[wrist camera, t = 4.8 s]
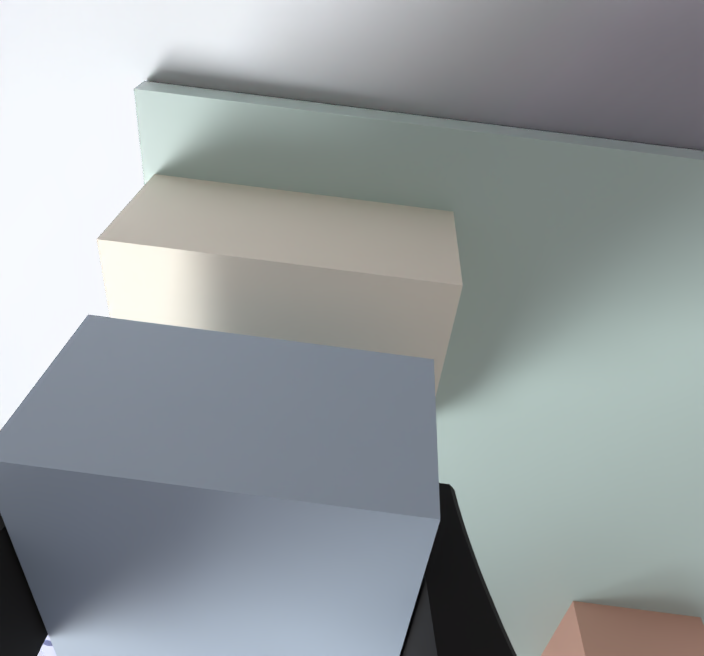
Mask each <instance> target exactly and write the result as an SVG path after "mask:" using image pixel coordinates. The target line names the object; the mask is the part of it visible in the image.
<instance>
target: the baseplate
mask: <svg viewBox="0 0 704 656" xmlns="http://www.w3.org/2000/svg"><path fill="white" fill-rule="evenodd" d="M134 95H135V104H136V113H137V122H138V131H139V140H140V149H141V158H142V167H143V177H144V185H145V184H146V183H147V182H148V181H149V180H150V178H151V177H152V176H153V175H154V174H159V175H167V176H175V177H183V178H191V179H199V180H207V181H215V182H223V183H230V184H238V185H246V186H254V187H262V188H270V189H278V190H286V191H294V192H302V193H310V194H318V195H326V196H334V197H342V198H350V199H358V200H366V201H374V202H382V203H389V204H397V205H405V206H413V207H421V208H429V209H437V210H445V211H453V212H454V220H455V228H456V236H457V244H458V251H459V259H460V267H461V275H462V282H463V287H462V291H461V295H460V299H459V303H458V307H457V311H456V316H455V320H454V324H453V328H452V332H451V336H450V340H449V344H448V348H447V352H446V356H445V360H444V364H443V369H442V373H441V377H440V381H439V385H438V389H437V393H436V397H435V400H436V425H437V450H438V474H439V483H444V484H450V485H451V486H452V487H453V489H454V490H455V494H456V498H457V501H458V505H459V508H460V512H461V515H462V518H463V521H464V525H465V528H466V531H467V534H468V537H469V540H470V543H471V545H472V548H473V551H474V554H475V556H476V559H477V562H478V565H479V567H480V570H481V573H482V575H483V578H484V580H485V583H486V585H487V588H488V590H489V593H490V595H491V597H492V600H493V602H494V605H495V607H496V609H497V612H498V614H499V617H500V619H501V621H502V624H503V626H504V628H505V631H506V633H507V635H508V637H509V639H510V642H511V644H512V646H513V648H514V651H515V653H516V655H517V656H541V655H542V653H543V651H544V650H545V648H546V646H547V644H548V643H549V641H550V639H551V638H552V636H553V634H554V632H555V631H556V629H557V627H558V626H559V624H560V622H561V620H562V619H563V617H564V615H565V614H566V612H567V610H568V608H569V607H570V605H571V603H572V602H573V601H578V602H585V603H593V604H601V605H609V606H616V607H624V608H632V609H640V610H647V611H655V612H663V613H671V614H679V615H686V616H694V617H701V620H702V622H703V625H704V151H700V150H692V149H684V148H676V147H668V146H660V145H652V144H644V143H636V142H628V141H620V140H612V139H604V138H596V137H588V136H580V135H572V134H564V133H556V132H548V131H540V130H532V129H524V128H516V127H508V126H500V125H492V124H484V123H476V122H468V121H460V120H452V119H444V118H436V117H428V116H420V115H412V114H404V113H396V112H388V111H380V110H372V109H364V108H356V107H348V106H340V105H332V104H324V103H316V102H308V101H300V100H292V99H284V98H276V97H268V96H260V95H252V94H244V93H236V92H228V91H220V90H212V89H204V88H196V87H188V86H180V85H172V84H164V83H156V82H148V81H144V82H143V83H141V84H140V85H138V86H137V87H136V88H134Z"/></svg>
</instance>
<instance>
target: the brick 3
mask: <svg viewBox="0 0 704 656" xmlns="http://www.w3.org/2000/svg"><path fill="white" fill-rule="evenodd" d="M541 656H704V625H703V622H702V620H701V617H694V616H686V615H679V614H671V613H663V612H655V611H647V610H640V609H632V608H624V607H616V606H609V605H601V604H593V603H585V602H578V601H573V602H572V603H571V605H570V607H569V608H568V610H567V612H566V614H565V615H564V617H563V619H562V620H561V622H560V624H559V626H558V627H557V629H556V631H555V632H554V634H553V636H552V638H551V639H550V641H549V643H548V644H547V646H546V648H545V650H544V651H543V653H542V655H541Z"/></svg>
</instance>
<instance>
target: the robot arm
mask: <svg viewBox="0 0 704 656" xmlns="http://www.w3.org/2000/svg"><path fill="white" fill-rule="evenodd" d="M439 499H440V522H439V526H438V529H437V532H436V536H435V539H434V542H433V546H432V549H431V552H430V556H429V559H428V562H427V566H426V569H425V572H424V576H423V579H422V582H421V586H420V589H419V592H418V596H417V599H416V602H415V606H414V609H413V612H412V616H411V619H410V622H409V626H408V629H407V632H406V636H405V639H404V642H403V646H402V649H401V652H400V656H517V655H516V653H515V651H514V648H513V646H512V644H511V642H510V639H509V637H508V635H507V633H506V631H505V628H504V626H503V624H502V621H501V619H500V617H499V614H498V612H497V609H496V607H495V605H494V602H493V600H492V597H491V595H490V593H489V590H488V588H487V585H486V583H485V580H484V578H483V575H482V573H481V570H480V567H479V565H478V562H477V559H476V556H475V554H474V551H473V548H472V545H471V543H470V540H469V537H468V534H467V531H466V528H465V525H464V521H463V518H462V515H461V512H460V508H459V505H458V501H457V498H456V494H455V490H454V489H453V487H452V486H451V485H450V484H444V483H439ZM40 649H41V651H42V654H43V656H56V653H55V650H54V648H53V645H52V643H51V640H50V638H49V635H48V633H47V630H46V628H45V625H44V623H43V620H42V617H41V615H40V612H39V610H38V607H37V605H36V602H35V600H34V597H33V595H32V592H31V589H30V587H29V584H28V582H27V579H26V577H25V574H24V572H23V569H22V567H21V564H20V562H19V559H18V556H17V554H16V551H15V549H14V546H13V544H12V541H11V539H10V536H9V534H8V531H7V528H6V526H5V523H4V521H3V518H2V516H1V513H0V656H37V655H38V653H39V651H40Z"/></svg>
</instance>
